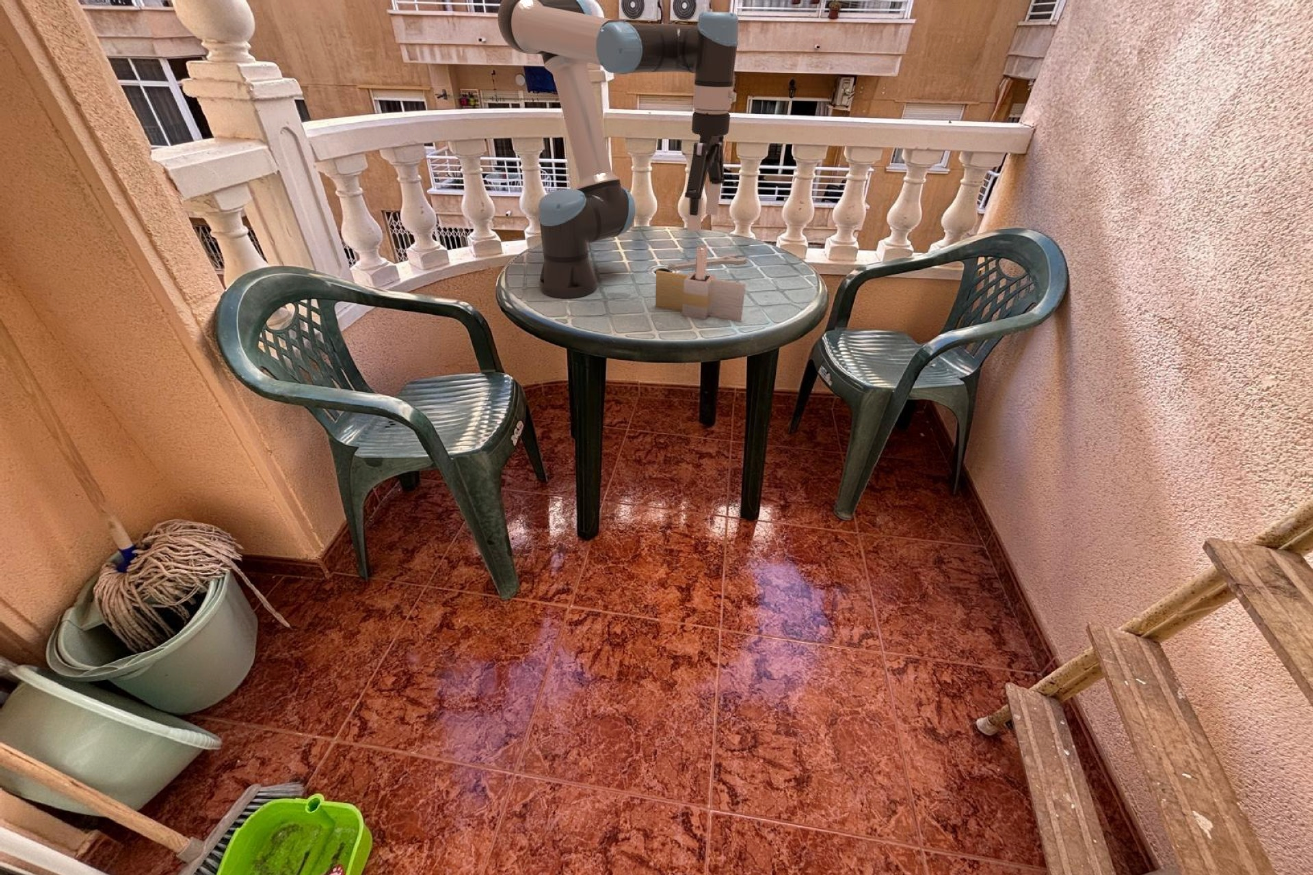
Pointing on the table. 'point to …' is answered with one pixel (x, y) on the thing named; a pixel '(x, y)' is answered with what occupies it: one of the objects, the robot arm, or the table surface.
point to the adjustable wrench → (709, 262)
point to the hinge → (699, 296)
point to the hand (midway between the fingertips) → (703, 222)
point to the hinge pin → (701, 263)
